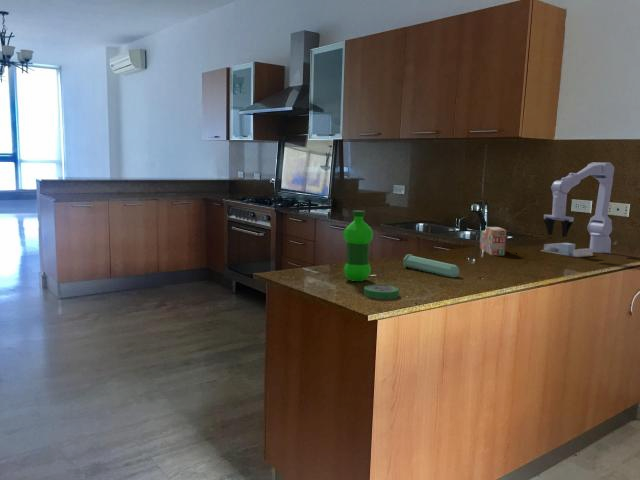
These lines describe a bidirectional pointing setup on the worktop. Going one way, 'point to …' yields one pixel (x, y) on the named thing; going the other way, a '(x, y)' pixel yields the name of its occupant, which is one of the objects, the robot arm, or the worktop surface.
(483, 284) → the worktop surface
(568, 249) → the steel block
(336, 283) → the worktop surface
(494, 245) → the printed cardboard box
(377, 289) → the tape roll
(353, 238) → the plastic bottle
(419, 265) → the container
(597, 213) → the robot arm
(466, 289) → the worktop surface
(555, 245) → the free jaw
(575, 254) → the vise
